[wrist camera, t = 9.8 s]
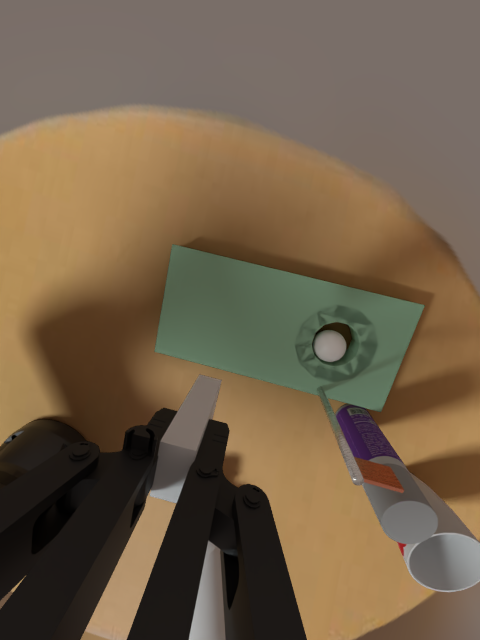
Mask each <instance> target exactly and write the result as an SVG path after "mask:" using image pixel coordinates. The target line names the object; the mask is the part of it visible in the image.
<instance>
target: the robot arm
mask: <svg viewBox="0 0 480 640" xmlns="http://www.w3.org/2000/svg"><path fill="white" fill-rule="evenodd" d="M221 381H222V380H219V379H216V378H212V377H208V376H204V375H200V374H199V376H198V378H197V380H196V381H195V383H194V385H193V386H192V388H191V390H190V391H189V393H188V395H187V397H186V398H185V400H184V402H183V403H182V405H181V407H180V409H179V410H178V411H174V410H171V409H167V408H163V409H161V410H159V411H157V412H156V413H155V415H154V416H153V417H152V419H151V420H150V422H149V423H148V424H147V426H144V425H140V426H134V427H132V428H130V429H128V430H127V431H126V432H125V438H124V445H123V449H122V451H119V452H112V453H100V450H99V446H97V445H96V444H95V443H92V442H87V441H86V440H85V439H84V438H83V437H82V436H81V435H80V434H79V433H78V432H77V431H75V430H74V429H73V428H71V427H69V426H67V425H65V424H63V423H61V422H58V421H53V420H36V421H32V422H30V423H28V424H26V425H25V426H23V427H22V428H20V429H19V430H17V431H15V432H14V433H13V434H12V435H10V436H9V437H8V438H7V439H6V441H5V442H4V443H3V444H2V445H1V446H0V600H1V599H2V598H3V597H4V596H5V595H6V594H7V593H8V592H10V591H11V590H12V589H13V588H14V587H15V586H16V585H17V584H18V583H19V582H20V581H21V580H22V579H23V578H24V577H25V576H26V577H25V578H24V579H23V580H22V582H21V583H20V584H19V586H18V587H17V588H16V590H15V591H14V592H13V594H12V595H11V596H10V598H9V599H8V600H7V602H6V603H5V604H4V605H3V607H2V608H1V609H0V640H80V639H81V637H82V635H83V633H84V631H85V629H86V627H87V625H88V623H89V621H90V619H91V617H92V615H93V613H94V610H95V608H96V606H97V604H98V602H99V600H100V598H101V596H102V594H103V592H104V590H105V588H106V586H107V584H108V582H109V580H110V578H111V575H112V573H113V571H114V569H115V567H116V565H117V563H118V561H119V559H120V557H121V555H122V553H123V551H124V549H125V547H126V545H127V543H128V540H129V538H130V536H131V534H132V532H133V530H134V528H135V526H136V524H137V522H138V520H139V518H140V516H141V514H142V512H143V510H144V507H145V503H146V498H147V495H148V493H149V491H150V489H151V493H150V496H152V497H155V498H159V499H162V500H166V501H170V502H173V503H177V504H176V506H175V509H174V512H173V515H172V517H171V520H170V523H169V526H168V528H167V531H166V534H165V536H164V539H163V542H162V545H161V547H160V550H159V553H158V556H157V558H156V561H155V564H154V567H153V569H152V572H151V575H150V578H149V580H148V583H147V586H146V589H145V591H144V594H143V597H142V599H141V602H140V605H139V608H138V610H137V613H136V616H135V619H134V621H133V624H132V627H131V630H130V632H129V635H128V638H127V640H189V636H190V631H191V626H192V621H193V616H194V610H195V605H196V600H197V595H198V590H199V585H200V580H201V575H202V570H203V565H204V560H205V555H206V550H207V545H208V541H210V542H211V543H212V544H214V545H215V546H217V547H218V548H219V549H220V559H221V575H222V591H223V606H224V622H225V638H226V640H307V638H306V634H305V631H304V627H303V624H302V620H301V616H300V613H299V609H298V605H297V602H296V598H295V594H294V591H293V587H292V583H291V580H290V576H289V572H288V569H287V565H286V562H285V558H284V554H283V551H282V547H281V543H280V540H279V536H278V532H277V529H276V525H275V521H274V518H273V514H272V510H271V507H270V503H269V500H268V498H267V496H266V494H265V493H264V492H263V491H262V489H260V488H259V487H257V486H255V485H251V484H246V485H242V486H240V487H239V488H238V487H236V486H234V485H233V484H231V483H230V482H229V481H228V480H227V479H226V478H225V476H224V474H223V470H222V466H223V461H224V456H225V451H226V446H227V441H228V436H229V428H228V425H227V424H226V423H223V422H219V421H215V420H212V418H213V415H214V410H215V406H216V402H217V398H218V394H219V389H220V385H221Z"/></svg>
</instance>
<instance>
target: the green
mask: <svg viewBox="0 0 480 640" xmlns="http://www.w3.org/2000/svg"><path fill="white" fill-rule="evenodd" d="M424 306H425V305H421V304H417V303H413V302H409V301H405V300H401V299H397V298H393V297H389V296H384V295H380V294H376V293H372V292H368V291H364V290H360V289H356V288H351V287H347V286H343V285H339V284H335V283H331V282H327V281H323V280H318V279H314V278H310V277H306V276H302V275H298V274H294V273H290V272H285V271H281V270H277V269H273V268H269V267H265V266H261V265H257V264H252V263H248V262H244V261H240V260H236V259H232V258H228V257H224V256H219V255H215V254H211V253H207V252H203V251H199V250H195V249H191V248H186V247H182V246H178V245H174V244H172V249H171V255H170V261H169V267H168V273H167V279H166V285H165V291H164V297H163V303H162V309H161V315H160V321H159V327H158V333H157V339H156V345H155V351H154V352H158V353H162V354H165V355H169V356H173V357H176V358H180V359H184V360H188V361H191V362H195V363H199V364H203V365H206V366H210V367H214V368H218V369H221V370H225V371H229V372H232V373H236V374H240V375H244V376H247V377H251V378H255V379H259V380H262V381H266V382H270V383H274V384H277V385H281V386H285V387H288V388H292V389H296V390H300V391H303V392H307V393H311V394H315V395H318V396H319V394H318V392H317V388H318V387H322V388H323V390H324V392H325V394H326V396H327V398H330V399H333V400H337V401H341V402H345V403H348V404H352V405H356V406H359V407H363V408H367V409H371V410H374V411H378V412H381V411H382V408H383V406H384V404H385V401H386V399H387V396H388V394H389V391H390V389H391V386H392V384H393V382H394V379H395V377H396V374H397V372H398V369H399V367H400V365H401V362H402V360H403V357H404V355H405V352H406V350H407V347H408V345H409V343H410V340H411V338H412V335H413V333H414V330H415V328H416V326H417V323H418V321H419V318H420V316H421V313H422V311H423V309H424ZM334 322H340V323H344V324H347V325H348V326H349V327H350V331H351V335H352V340H351V342H350V345H349V348H348V349H347V350H346V351H345V354H344V355H343V356H342V357H341V358H340V359H339V360H337V361H334V362H326V361H323V360H321V359H320V358H318V357H317V356H316V354H315V353H314V351H313V349H312V341H313V338H314V335H315V333H316V332H317V331H318V330H319V329H320V328H321V327H323V326H324V325H326V324H330V323H334Z"/></svg>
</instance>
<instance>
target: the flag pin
mask: <svg viewBox="0 0 480 640" xmlns="http://www.w3.org/2000/svg"><path fill="white" fill-rule="evenodd" d="M317 392H318V394H319V397H320V400H321V402H322V405H323V407H324V410H325V412H326V415H327V417H328V420H329V422H330V425H331V428H332V430H333V433H334V435H335V438H336V440H337V443H338V445H339V448H340V450H341V453H342V456H343V458H344V461H345V463H346V466H347V468H348V471H349V473H350V476H351V478H352V481H353V483H354V484H355V485H362V484H363V483H364V482H365V483H368V484H372V485H375V486H379V487H382V488H386V489H390V490H393V491H397V492H400V493H403V492H404V489H403V487H402V485H401V484H400V482H399V480H398V479H397V477H396V475H395V474H394V472H393V470H392V469H391V467H389V466H385V465H382V464H378V463H375V462H371V461H368V460H364V459H360V458H357V457H354V456H353V454H352V452H351V450H350V447H349V445H348V443H347V441H346V438H345V436H344V434H343V432H342V430H341V427H340V425H339V423H338V421H337V418H336V416H335V414H334V412H333V410H332V407H331V405H330V403H329V401H328V398H327V396H326V394H325V392H324V390H323V388H322V387H318V388H317Z"/></svg>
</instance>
